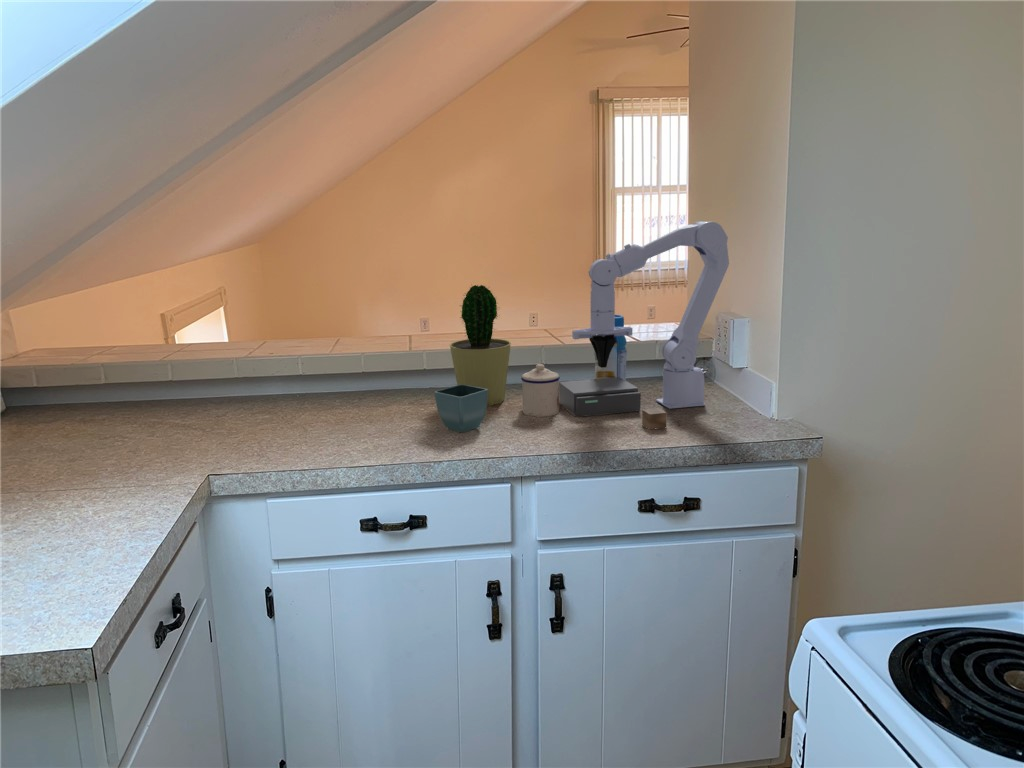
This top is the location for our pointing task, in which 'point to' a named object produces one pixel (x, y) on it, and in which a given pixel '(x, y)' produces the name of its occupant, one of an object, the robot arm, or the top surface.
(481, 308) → the potted cactus
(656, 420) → the walnut block
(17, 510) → the top surface
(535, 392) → the cream lidded canister
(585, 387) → the grey drawer box
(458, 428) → the flower pot
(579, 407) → the tray
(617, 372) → the beverage bottle
